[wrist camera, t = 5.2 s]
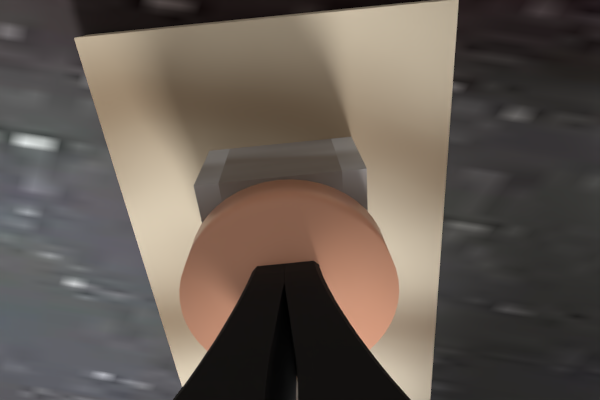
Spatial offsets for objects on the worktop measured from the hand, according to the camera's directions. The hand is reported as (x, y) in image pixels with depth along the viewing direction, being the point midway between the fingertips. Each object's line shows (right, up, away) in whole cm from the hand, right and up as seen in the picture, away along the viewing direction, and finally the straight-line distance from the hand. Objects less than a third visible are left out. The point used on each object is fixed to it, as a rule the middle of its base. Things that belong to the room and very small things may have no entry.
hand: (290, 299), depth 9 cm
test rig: (0, -2, +7) cm, 7 cm away
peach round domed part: (0, +2, +3) cm, 4 cm away
